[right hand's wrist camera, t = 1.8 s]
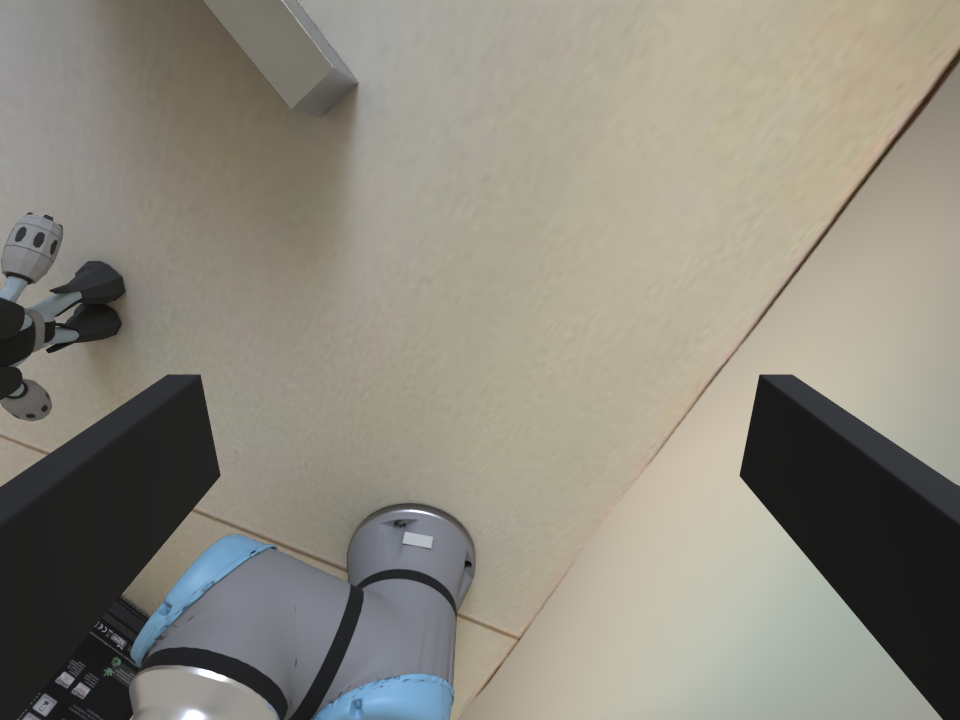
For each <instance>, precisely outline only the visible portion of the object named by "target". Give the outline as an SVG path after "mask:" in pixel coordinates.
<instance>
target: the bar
mask: <svg viewBox="0 0 960 720" xmlns="http://www.w3.org/2000/svg"><path fill="white" fill-rule="evenodd" d="M203 2H204V3H205V4H206V5H207V6H208V8H209V9H210V10H211V11H212V13H213V14H214V15H215V16H216V18H217V19H218V20H219V21H220V23H221V24H222V25H223V26H224V27H225V29H226V30H227V31H228V32H229V34H230V35H231V36H232V37H233V39H234V40H235V41H236V42H237V44H238V45H239V46H240V47H241V49H242V50H243V51H244V52H245V53H246V55H247V56H248V57H249V58H250V60H251V61H252V62H253V63H254V65H255V66H256V67H257V68H258V70H259V71H260V72H261V73H262V74H263V76H264V77H265V78H266V79H267V81H268V82H269V83H270V84H271V86H272V87H273V88H274V89H275V91H276V92H277V93H278V94H279V95H280V97H281V98H282V99H283V100H284V102H285V103H286V104H287V105H288V107H289V108H290V109H291V110H296V111H300V112H304V113H308V114H312V115H316V116H321V117H322V116H323V115H324V114H325V113H326V112H327V111H328V110H329V109H330V108H331V107H333V106H334V105H335V104H336V103H337V102H338V101H339V100H340V99H341V98H342V97H343V96H344V95H346V94H347V93H348V92H349V91H350V90H351V89H352V88H353V87H354V86H355V85H356V84H357V83H358V81H357V80H356V78H355V77H354V76H353V74H352V73H351V72H350V70H349V69H348V68H347V66H346V65H345V64H344V62H343V61H342V60H341V58H340V57H339V56H338V55H337V53H336V52H335V51H334V49H333V48H332V47H331V45H330V44H329V43H328V41H327V40H326V39H325V37H324V36H323V35H322V33H321V32H320V31H319V29H318V28H317V27H316V25H315V24H314V23H313V21H312V20H311V19H310V17H309V16H308V15H307V13H306V12H305V11H304V9H303V8H302V7H301V6H300V4H299V3H298V2H297V0H203Z"/></svg>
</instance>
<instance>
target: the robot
mask: <svg viewBox="0 0 960 720" xmlns="http://www.w3.org/2000/svg"><path fill="white" fill-rule="evenodd" d="M32 214H33V213H30V212H29V213H28V214H26V215H25V216H24V217H23V218H22V219H21V220H20V221H19V222H18V223H17V224H16V225H15V227H14V228H13V230H12V232H11V234H10V236H9V238H8V240H7V242H6V244H5V246H4V250H3V255H2V259H1V265H2V273H3V274H4V275H6V277H7V280H6V283H5V286H4V288H3V289H2V290H1V291H0V403H1V405H2V407H3V408H5V409H6V410H7V411H8V412H9V413H11V414H12V415H13V416H15V417H16V418H18V419H23V420H28V421H36V420H40V419H43V418H44V417H45V416H47V415H48V414H49V413H50V410H51V408H52V403H51V399H50V396H49V394H48V393H47V392H46V390H45V389H44V388H42V387H41V386H40V385H39V384H38V383H36V382H35V381H32V380H28V379H23V378H22V373H21V371H20V370H19V369H18V368H16V366H18V365H19V364H21V363H22V362H24V361H25V360H26V359H27V358H28V357H29V355H31V353H32V352H35V351H37V350H40V349H41V348H44V347H46V346H48V345H50V344H55V345H53V346H51V347H50V348H48V349H46V351H47V352H48V353H52V352H55V351H57V350H60V349H62V348H64V347H66V346H69V345H71V344H73V343H81V342H89V341H95V340H101V339H105V338H108V337H111V336H113V335H116V334H117V332H118V330H119V328H120V326H121V324H122V323H121V321H120V319H119V317H118V315H117V314H116V312H115V310H113V309H111V308H109V307H107V306H105V305H103V303H108V302H111V301H115V300H116V299H118V298H119V297H120V296H121V295H122V294H123V293H124V292H125V288H124V283H123V278H122V277H121V276H120V275H119V274H118V273H117V272H116V271H115V270H113V269H112V268H111V267H110V266H109V265H107V264H105V263H103V262H100V261H89V262H87V263H86V264H85V265H84V266H83V267H81V268H80V269H79V270H78V271H77V272H76V275H75V276H76V277H75V278H74V279H73V280H71V281H70V282H69V283H67V284H66V285H63V286H60V287H57V288H54V289H51V290H49V291H50V292H53V293H55V295H53V296H51V297H49V298H47V299H45V300H43V301H42V302H40V303H38V304H37V305H35V306H33V307H29V308H23V307H22V306H20V305H18V304H16V301H17V299H18V298H19V296H20V294H21V292H22V291H23V290H24V288H25V287H26V286H27V285H30V284H31V283H34V284H35V283H36V282H37V281H38V280H40V279H41V278H42V277H43V276H44V275H45V274H46V273H47V271H48V270H49V269H50V267H51V266H52V264H53V263H54V261H55V258H56V256H57V254H58V251H59V248H60V245H61V241H62V238H63V227H62V225H60V224H59V225H58V224H56V223H55V222H53V217H50V216H48V215H45V216H44V217H40V216H36V215H32ZM78 303H83V304H80V306H78V307H77V308H76V309H75V312H74V315H73V316H72V317H71V318H69V319H68V320H67V322H66V323H65V324H63V323H56V322H55V320H54V317H57V316H59V315H61V314H62V313H64V312H65V311H67V310H68V309H70V308H71V307H73V306H74V305H76V304H78ZM55 326H60V327H55Z"/></svg>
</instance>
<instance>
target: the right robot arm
mask: <svg viewBox="0 0 960 720" xmlns="http://www.w3.org/2000/svg"><path fill="white" fill-rule="evenodd" d="M219 477H220V471H219V466H218V461H217V456H216V451H215V446H214V441H213V436H212V431H211V426H210V421H209V416H208V411H207V406H206V400H205V395H204V390H203V385H202V380H201V375H166V376H165V377H163V378H162V379H160V380H159V381H158V382H156V383H155V384H153V385H152V386H150V387H149V388H147V389H146V390H144V391H143V392H141V393H140V394H138V395H137V396H135V397H134V398H132V399H131V400H129V401H128V402H126V403H125V404H123V405H122V406H120V407H119V408H117V409H116V410H114V411H113V412H111V413H110V414H108V415H107V416H105V417H104V418H102V419H101V420H99V421H98V422H96V423H95V424H93V425H92V426H91V427H89V428H88V429H86V430H85V431H83V432H82V433H80V434H79V435H77V436H76V437H74V438H73V439H71V440H70V441H68V442H67V443H65V444H64V445H62V446H61V447H59V448H58V449H56V450H55V451H53V452H52V453H50V454H49V455H47V456H46V457H44V458H43V459H41V460H40V461H38V462H37V463H35V464H34V465H32V466H31V467H29V468H28V469H26V470H25V471H24V472H22V473H21V474H19V475H18V476H16V477H15V478H13V479H12V480H10V481H9V482H7V483H6V484H4V485H3V486H1V487H0V720H17V719H18V718H19V717H20V715H21V714H22V713H23V712H24V711H25V709H26V708H27V707H28V706H29V705H30V703H31V702H32V701H33V700H34V699H35V697H36V696H37V695H38V694H39V693H40V691H41V690H42V689H43V688H44V687H45V685H46V684H47V683H48V682H49V681H50V679H51V678H52V677H53V676H54V675H55V673H56V672H57V671H58V670H59V669H60V667H61V666H62V665H63V664H64V663H65V661H66V660H67V659H68V658H69V657H70V655H71V654H72V653H73V652H74V651H75V650H76V648H77V647H78V646H79V645H80V644H81V642H82V641H83V640H84V639H85V638H86V636H87V635H88V634H89V633H90V632H91V630H92V629H93V628H94V627H95V626H96V624H97V623H98V622H99V621H100V620H101V618H102V617H103V616H104V615H105V614H106V612H107V611H108V610H109V609H110V608H111V606H112V605H113V604H114V603H115V602H116V600H117V599H118V598H119V597H120V596H121V594H122V593H123V592H124V591H125V590H126V588H127V587H128V586H129V585H130V584H131V582H132V581H133V580H134V579H135V578H136V576H137V575H138V574H139V573H140V572H141V570H142V569H143V568H144V567H145V566H146V564H147V563H148V562H149V561H150V560H151V558H152V557H153V556H154V555H155V554H156V552H157V551H158V550H159V549H160V548H161V546H162V545H163V544H164V543H165V542H166V540H167V539H168V538H169V537H170V536H171V534H172V533H173V532H174V531H175V530H176V529H177V527H178V526H179V525H180V524H181V523H182V521H183V520H184V519H185V518H186V517H187V515H188V514H189V513H190V512H191V511H192V509H193V508H194V507H195V506H196V505H197V503H198V502H199V501H200V500H201V499H202V497H203V496H204V495H205V494H206V493H207V491H208V490H209V489H210V488H211V487H212V485H213V484H214V483H215V482H216V481H217V479H218V478H219ZM740 477H741V478H742V479H743V481H744V482H745V483H746V484H747V485H748V487H749V488H750V489H751V490H752V491H753V493H754V494H755V495H756V496H757V497H758V498H759V500H760V501H761V502H762V503H763V505H764V506H765V507H766V508H767V509H768V510H769V512H770V513H771V514H772V515H773V517H774V518H775V519H776V520H777V521H778V523H779V524H780V525H781V526H782V527H783V529H784V530H785V531H786V532H787V533H788V534H789V536H790V537H791V538H792V539H793V540H794V542H795V543H796V544H797V545H798V546H799V548H800V549H801V550H802V551H803V552H804V554H805V555H806V556H807V557H808V558H809V560H810V561H811V562H812V563H813V564H814V566H815V567H816V568H817V569H818V570H819V572H820V573H821V574H822V575H823V576H824V578H825V579H826V580H827V581H828V582H829V584H830V585H831V586H832V587H833V588H834V590H835V591H836V592H837V593H838V594H839V596H840V597H841V598H842V599H843V600H844V602H845V603H846V604H847V605H848V606H849V608H850V609H851V610H852V611H853V612H854V614H855V615H856V616H857V617H858V618H859V619H860V621H861V622H862V623H863V624H864V625H865V627H866V628H867V629H868V630H869V632H870V633H871V634H872V635H873V636H874V638H875V639H876V640H877V641H878V642H879V643H880V645H881V646H882V647H883V648H884V649H885V651H886V652H887V653H888V654H889V655H890V657H891V658H892V659H893V660H894V661H895V663H896V664H897V665H898V666H899V667H900V669H901V670H902V671H903V672H904V673H905V675H906V676H907V677H908V678H909V679H910V681H911V682H912V683H913V684H914V685H915V687H916V688H917V689H918V690H919V691H920V693H921V694H922V695H923V696H924V697H925V698H926V700H927V701H928V702H929V703H930V705H931V706H932V707H933V708H934V709H935V711H936V712H937V713H938V714H939V715H940V717H941V718H942V719H943V720H960V486H958V485H956V484H954V483H953V482H951V481H950V480H948V479H947V478H945V477H944V476H942V475H941V474H939V473H938V472H936V471H935V470H934V469H932V468H930V467H929V466H927V465H926V464H925V463H923V462H922V461H920V460H919V459H917V458H916V457H914V456H913V455H911V454H910V453H908V452H907V451H905V450H904V449H902V448H901V447H899V446H898V445H896V444H895V443H893V442H892V441H890V440H889V439H887V438H886V437H884V436H883V435H881V434H880V433H878V432H877V431H875V430H874V429H872V428H871V427H869V426H868V425H867V424H865V423H864V422H862V421H861V420H859V419H858V418H856V417H855V416H853V415H852V414H850V413H849V412H847V411H846V410H844V409H843V408H841V407H840V406H838V405H837V404H835V403H834V402H832V401H831V400H829V399H828V398H826V397H825V396H823V395H822V394H820V393H819V392H817V391H816V390H814V389H813V388H811V387H810V386H808V385H807V384H805V383H804V382H802V381H801V380H800V379H798V378H797V377H795V376H794V375H759V380H758V385H757V390H756V396H755V400H754V406H753V411H752V416H751V421H750V426H749V431H748V436H747V441H746V446H745V451H744V456H743V461H742V466H741V471H740ZM347 571H348V582H346V581H344V580H341V579H339V578H337V577H335V576H333V575H331V574H328V573H326V572H324V571H322V570H320V569H317V568H315V567H313V566H311V565H309V564H307V563H304V562H302V561H300V560H298V559H296V558H294V557H291V556H289V555H287V554H285V553H283V552H280V551H278V550H277V547H276V546H274V545H271V544H267V545H265V544H263V543H260V542H258V541H255V540H253V539H250V538H248V537H245V536H243V535H237V534H234V535H229V536H226V537H224V538H222V539H219V540H218V541H216V542H215V543H214V544H212V545H211V546H210V547H209V548H208V549H207V550H206V551H205V552H204V553H203V554H202V555H201V556H200V557H199V558H198V559H197V560H196V561H195V562H194V563H193V564H192V565H191V566H190V568H189V569H188V570H187V571H186V572H185V573H184V575H183V576H182V577H181V578H180V579H179V580H178V582H177V583H176V584H175V585H174V587H173V588H172V589H171V590H170V592H169V593H168V594H167V596H166V597H165V599H164V601H163V604H161V605H160V606H159V607H158V609H157V610H156V611H155V612H154V614H153V615H152V616H151V617H150V618H149V620H148V621H147V623H146V624H145V626H144V627H143V629H142V630H141V632H140V633H139V635H138V637H137V638H136V640H135V642H134V645H133V647H132V649H131V653H130V655H131V658H132V659H133V660H134V661H135V662H136V664H137V666H140V667H141V668H140V669H139V671H138V672H137V674H136V675H135V677H134V679H133V680H132V682H131V684H130V686H129V695H130V700H131V705H132V709H133V714H134V717H133V720H450V714H451V707H452V705H453V700H454V690H453V677H454V658H455V639H456V619H457V612H458V610H459V608H460V606H461V604H462V602H463V600H464V598H465V596H466V594H467V592H468V590H469V587H470V585H471V583H472V580H473V577H474V573H475V548H474V544H473V541H472V539H471V537H470V535H469V533H468V532H467V530H466V529H465V528H464V526H463V525H462V524H461V523H460V522H459V521H457V520H456V519H455V518H454V517H452V516H451V515H449V514H447V513H446V512H444V511H442V510H439V509H437V508H434V507H431V506H427V505H422V504H409V503H407V504H397V505H392V506H388V507H385V508H382V509H380V510H378V511H376V512H374V513H372V514H371V515H369V516H368V517H367V518H366V519H365V520H363V521H362V523H361V524H360V525H359V526H358V527H357V529H356V531H355V532H354V535H353V537H352V540H351V543H350V545H349V549H348V553H347Z"/></svg>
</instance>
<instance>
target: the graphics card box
mask: <svg viewBox="0 0 960 720" xmlns="http://www.w3.org/2000/svg"><path fill="white" fill-rule="evenodd" d="M148 620H149V619H147V618H146V617H145V616H143V615H142V614H141V613H139V612H138V611H137V610H136V609H134V608H133V607H132V606H130V605H129V604H128V603H126V602H125V601H124V600H122V599H121V598H120V597H119V598H118V599H117V600H116V602H115V603H114V604H113V605H112V606H111V608H110V609H109V610H108V611H107V612H106V614H105V615H104V616H103V617H102V618H101V620H100V621H99V622H98V623H97V624H96V626H95V627H94V628H93V629H92V630H91V632H90V633H89V634H88V635H87V636H86V638H85V639H84V640H83V641H82V642H81V644H80V645H79V646H78V647H77V648H76V650H75V651H74V652H73V653H72V654H71V655H70V657H69V658H68V659H67V660H66V661H65V663H64V664H63V665H62V666H61V667H60V669H59V670H58V671H57V672H56V673H55V675H54V676H53V677H52V678H51V679H50V681H49V682H48V683H47V684H46V685H45V687H44V688H43V689H42V690H41V691H40V693H39V694H38V695H37V696H36V697H35V699H34V700H33V701H32V702H31V703H30V705H29V706H28V707H27V708H26V709H25V711H24V712H23V713H22V714H21V715H20V717H19V718H18V719H17V720H130V718H131V717H132V715H133V709H132V705H131V700H130V695H129V686H130V684H131V682H132V680H133V679H134V677H135V675H136V674H137V672H138V671H139V669H140V668H141V667H140V666H137V664H136V662H135V661H134V660H133V659H132V658H131V655H130V653H131V649H132V647H133V645H134V642H135V640H136V638H137V637H138V635H139V633H140V632H141V630H142V629H143V627H144V626H145V624H146V623H147V621H148Z"/></svg>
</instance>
